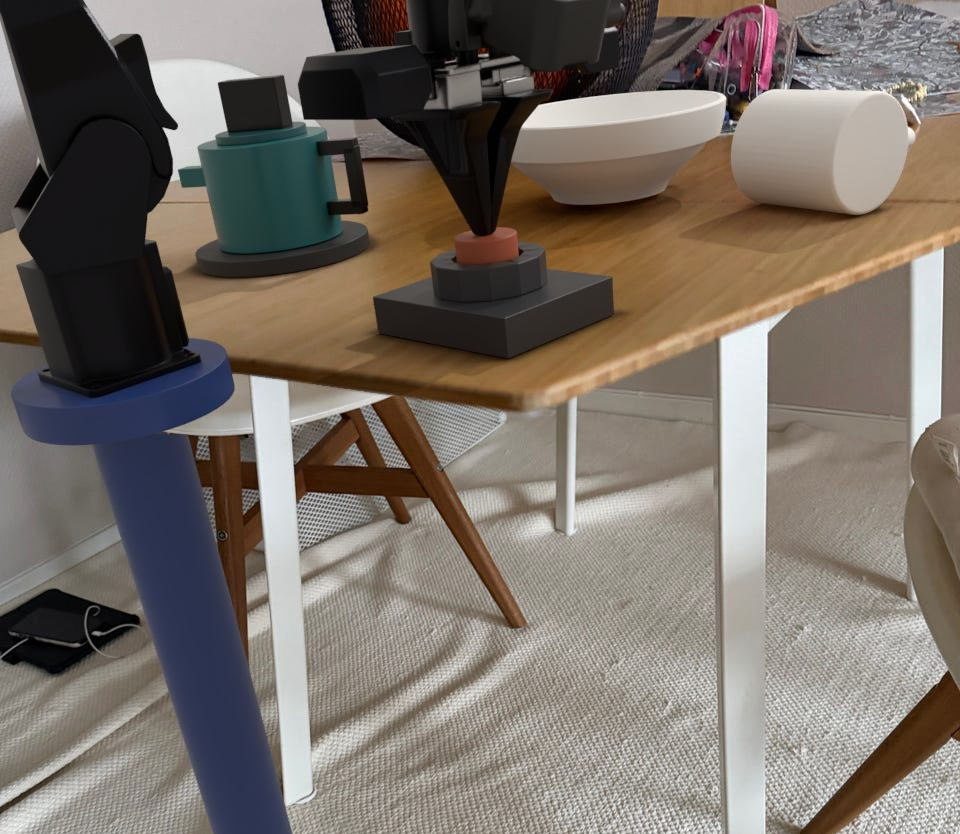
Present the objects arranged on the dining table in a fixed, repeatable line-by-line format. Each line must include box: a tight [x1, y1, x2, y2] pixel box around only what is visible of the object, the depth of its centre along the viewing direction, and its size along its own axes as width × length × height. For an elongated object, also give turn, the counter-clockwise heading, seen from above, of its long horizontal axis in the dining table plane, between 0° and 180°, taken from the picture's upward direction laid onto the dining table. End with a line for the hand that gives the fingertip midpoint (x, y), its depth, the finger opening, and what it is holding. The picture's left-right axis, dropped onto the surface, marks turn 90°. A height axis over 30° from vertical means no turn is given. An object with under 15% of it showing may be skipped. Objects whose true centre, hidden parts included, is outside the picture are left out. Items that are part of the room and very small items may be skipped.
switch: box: [453, 226, 519, 265], centre depth 63 cm, size 4×4×2 cm
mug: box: [730, 88, 916, 216], centre depth 81 cm, size 12×10×8 cm
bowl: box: [510, 89, 727, 206], centre depth 92 cm, size 20×20×7 cm
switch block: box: [372, 241, 615, 360], centre depth 64 cm, size 11×9×4 cm
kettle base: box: [195, 220, 371, 278], centre depth 89 cm, size 14×14×1 cm
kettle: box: [177, 74, 369, 254], centre depth 85 cm, size 16×10×12 cm, turn 69°
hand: (484, 234), depth 62 cm, fingers closed, pressing on switch
